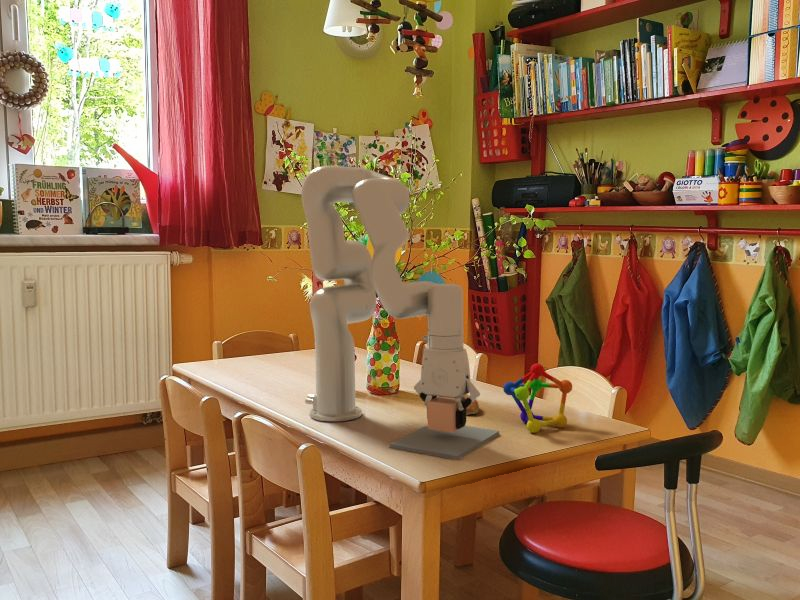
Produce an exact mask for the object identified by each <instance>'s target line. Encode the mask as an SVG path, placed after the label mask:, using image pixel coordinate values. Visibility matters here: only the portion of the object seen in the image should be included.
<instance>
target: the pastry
mask: <svg viewBox="0 0 800 600" xmlns="http://www.w3.org/2000/svg"><path fill="white" fill-rule="evenodd" d="M465 396H466V399H467V398H468V397H469V396H470V394H465ZM479 411H480V405H479V402H478V400H477V398H476V399H475V400H474V401H473V402H472V403H471V404H470V405H469V406H468V408H466V416H468V415H477V414H478V412H479Z"/></svg>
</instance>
